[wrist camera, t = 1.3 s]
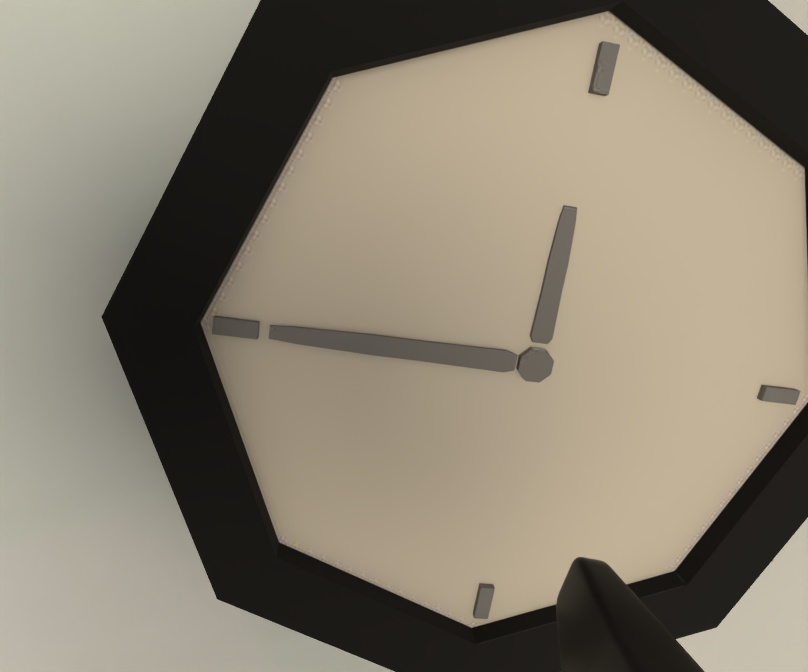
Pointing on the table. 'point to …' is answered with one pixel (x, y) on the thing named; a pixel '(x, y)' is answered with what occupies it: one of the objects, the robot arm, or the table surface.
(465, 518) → the wall clock
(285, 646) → the table surface
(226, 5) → the table surface
